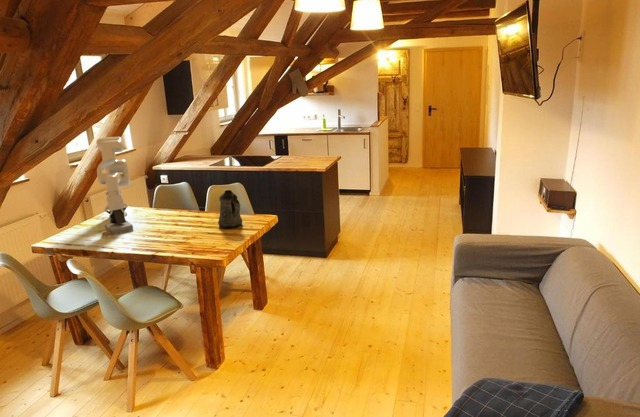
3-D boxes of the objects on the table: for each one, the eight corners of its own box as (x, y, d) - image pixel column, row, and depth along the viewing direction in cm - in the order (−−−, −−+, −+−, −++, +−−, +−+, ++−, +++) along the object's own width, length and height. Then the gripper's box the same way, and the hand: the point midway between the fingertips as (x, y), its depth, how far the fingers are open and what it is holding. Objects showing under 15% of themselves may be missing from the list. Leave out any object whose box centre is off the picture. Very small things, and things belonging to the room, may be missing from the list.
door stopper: (126, 222, 321) (123, 205, 318) (119, 224, 316) (116, 207, 313) (117, 220, 325) (114, 204, 322) (110, 223, 320) (107, 206, 317)
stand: (105, 229, 324) (104, 224, 323) (126, 225, 332) (125, 219, 331) (112, 235, 312) (111, 229, 311) (133, 230, 320) (132, 224, 319)
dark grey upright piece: (226, 221, 334) (223, 187, 327) (250, 223, 327) (248, 188, 321) (213, 228, 319) (210, 193, 312) (239, 230, 312) (236, 194, 306)
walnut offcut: (102, 236, 311) (101, 231, 310) (108, 234, 314) (107, 230, 313) (105, 237, 308) (104, 233, 307) (111, 236, 310) (110, 231, 310)
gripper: (101, 196, 307) (105, 222, 312) (128, 191, 317) (132, 217, 322) (98, 194, 313) (102, 220, 318) (125, 190, 323) (128, 214, 328)
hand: (117, 218), depth 320 cm, fingers closed on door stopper, 6 cm apart
